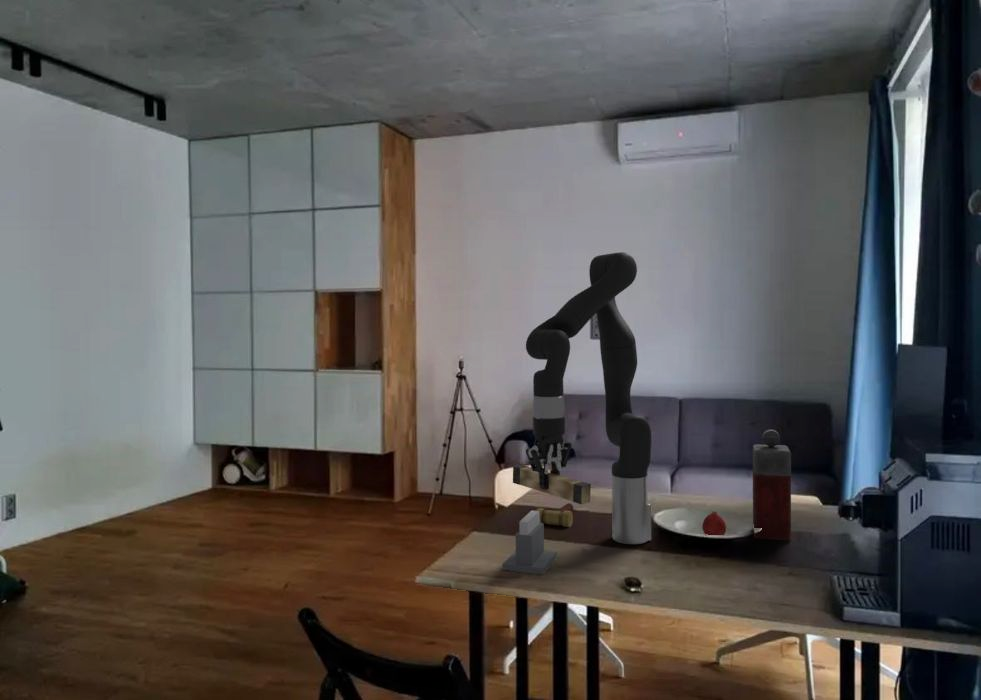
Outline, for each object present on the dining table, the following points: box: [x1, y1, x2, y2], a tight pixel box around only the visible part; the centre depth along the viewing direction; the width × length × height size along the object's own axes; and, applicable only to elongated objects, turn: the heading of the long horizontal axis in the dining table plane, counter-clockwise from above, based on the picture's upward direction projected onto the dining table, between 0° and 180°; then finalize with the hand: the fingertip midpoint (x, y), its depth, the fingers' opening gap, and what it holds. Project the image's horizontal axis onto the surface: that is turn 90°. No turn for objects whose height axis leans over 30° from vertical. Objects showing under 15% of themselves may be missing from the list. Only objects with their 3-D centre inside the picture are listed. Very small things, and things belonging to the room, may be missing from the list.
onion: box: [702, 510, 727, 536], centre depth 178 cm, size 6×6×8 cm
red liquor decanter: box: [752, 429, 792, 542], centre depth 184 cm, size 9×11×28 cm
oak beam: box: [512, 464, 592, 505], centre depth 161 cm, size 22×3×4 cm, turn 42°
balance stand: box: [502, 510, 558, 576], centre depth 164 cm, size 10×12×12 cm
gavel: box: [535, 502, 574, 528], centre depth 203 cm, size 21×5×10 cm
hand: (549, 487), depth 161 cm, fingers closed on oak beam, 3 cm apart
